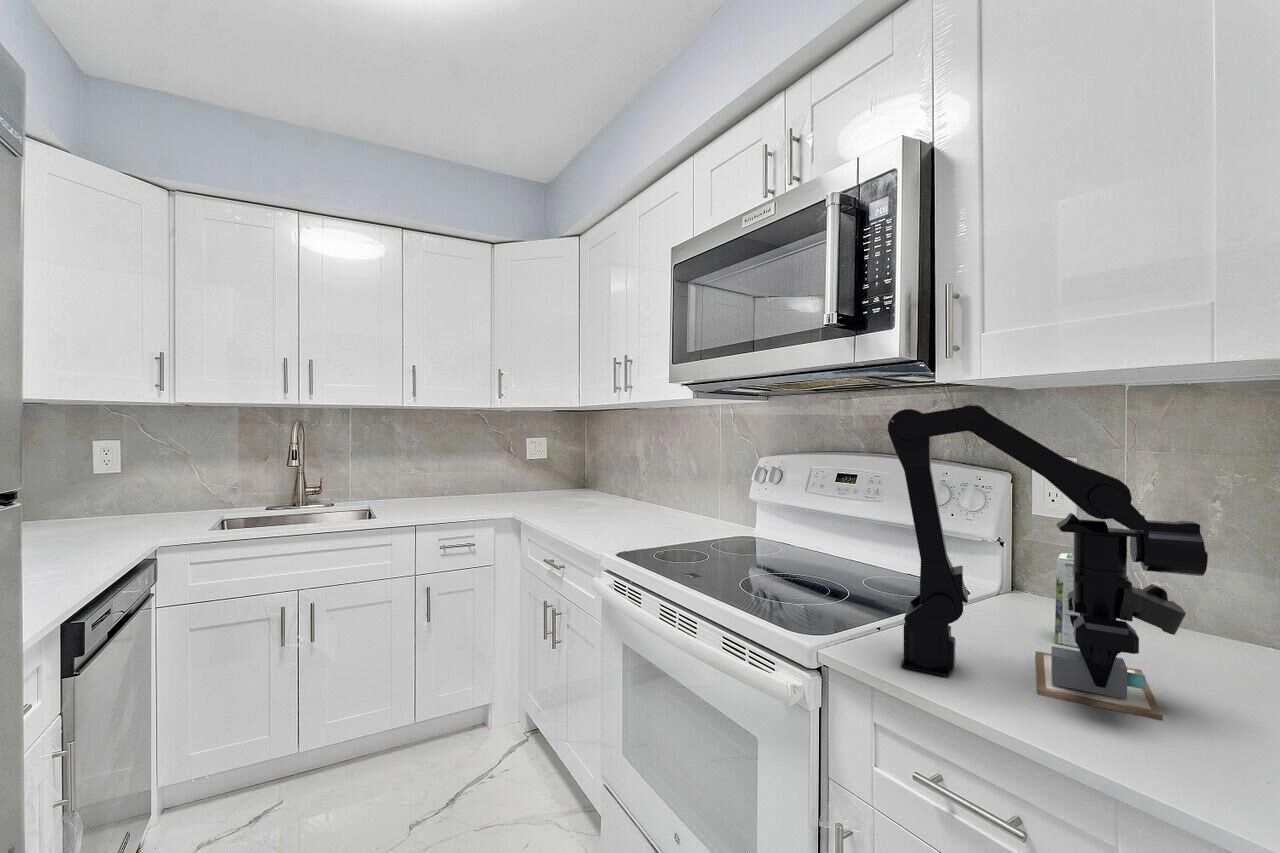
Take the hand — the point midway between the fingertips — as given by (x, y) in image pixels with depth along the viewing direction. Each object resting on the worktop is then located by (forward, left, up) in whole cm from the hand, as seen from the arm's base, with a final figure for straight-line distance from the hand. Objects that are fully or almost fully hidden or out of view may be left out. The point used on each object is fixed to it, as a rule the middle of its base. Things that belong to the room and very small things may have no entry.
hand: (1098, 680), depth 80 cm
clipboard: (0, +4, -2) cm, 5 cm away
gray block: (0, 0, -1) cm, 1 cm away
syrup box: (-1, +22, -2) cm, 23 cm away
